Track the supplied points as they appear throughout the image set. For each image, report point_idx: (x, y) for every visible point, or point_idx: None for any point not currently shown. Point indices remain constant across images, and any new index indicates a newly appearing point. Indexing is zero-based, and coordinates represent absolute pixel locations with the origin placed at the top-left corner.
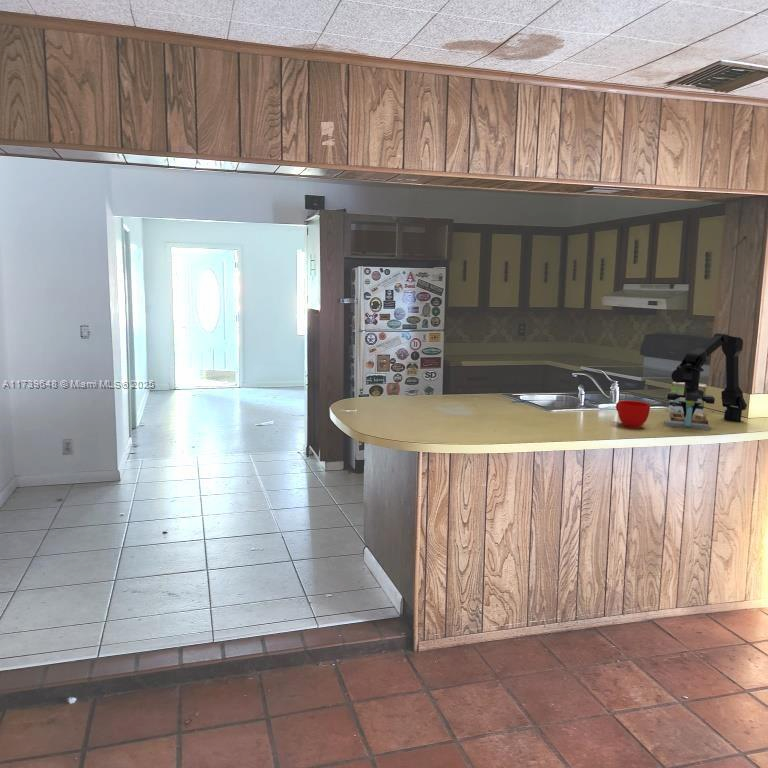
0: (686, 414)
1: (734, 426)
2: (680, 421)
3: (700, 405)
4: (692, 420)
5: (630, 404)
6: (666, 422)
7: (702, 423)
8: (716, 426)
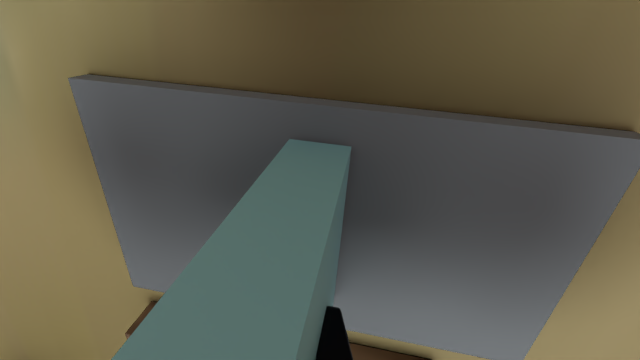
0: (323, 273)
1: (15, 320)
2: (352, 355)
3: None
4: None
5: None
6: (548, 279)
7: None
8: (97, 295)
